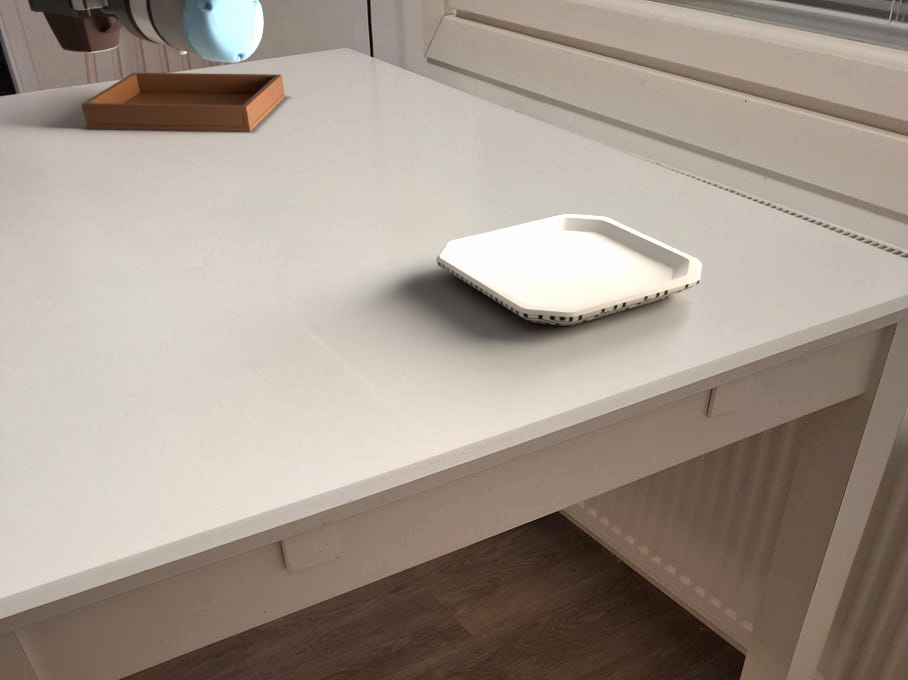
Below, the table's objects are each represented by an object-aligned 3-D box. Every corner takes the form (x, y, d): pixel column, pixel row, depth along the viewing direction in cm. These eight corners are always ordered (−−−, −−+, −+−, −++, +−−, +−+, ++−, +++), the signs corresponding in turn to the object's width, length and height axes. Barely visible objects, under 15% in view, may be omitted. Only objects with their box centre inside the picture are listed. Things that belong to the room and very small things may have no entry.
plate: (420, 270, 89) (419, 246, 88) (586, 229, 97) (588, 207, 96) (541, 348, 76) (542, 323, 75) (721, 294, 84) (725, 270, 83)
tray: (87, 128, 128) (81, 104, 126) (138, 95, 142) (133, 72, 140) (250, 131, 126) (246, 106, 124) (285, 97, 141) (281, 74, 138)
